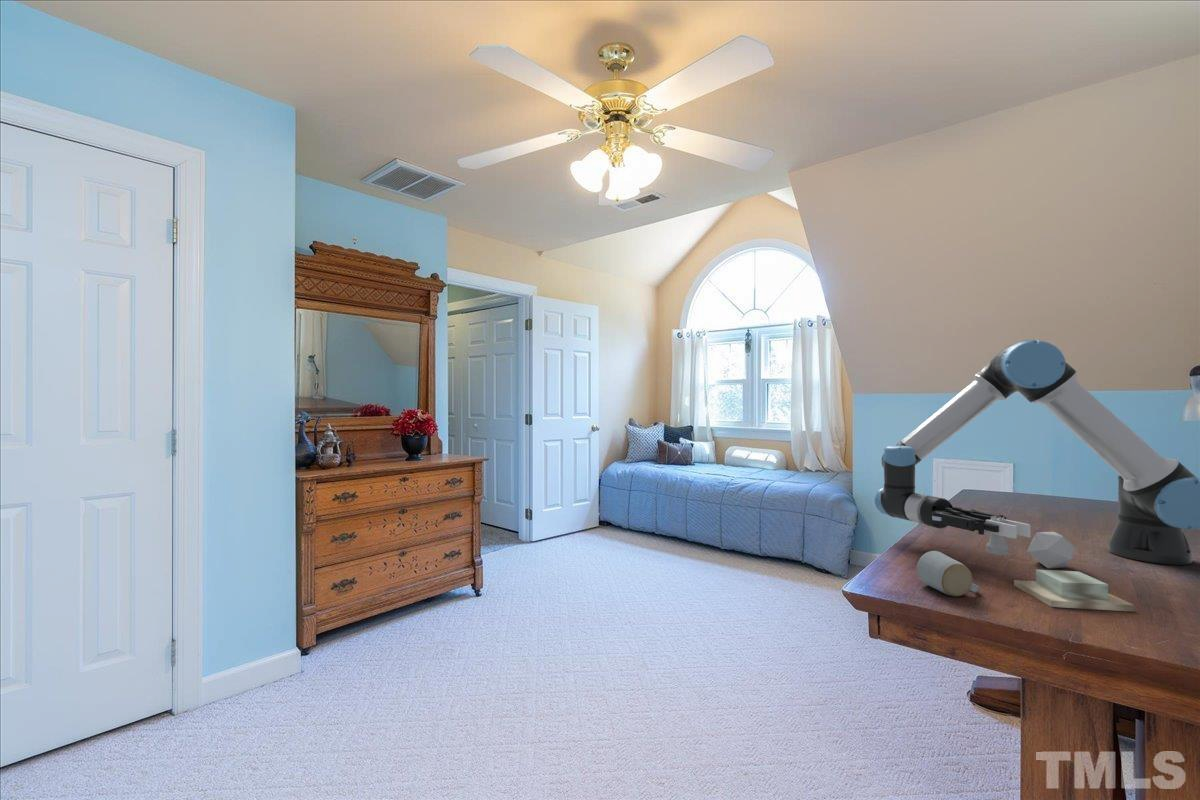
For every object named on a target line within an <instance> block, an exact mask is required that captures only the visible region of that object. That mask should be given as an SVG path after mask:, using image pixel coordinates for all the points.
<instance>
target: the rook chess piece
mask: <svg viewBox="0 0 1200 800" xmlns="http://www.w3.org/2000/svg"><path fill="white" fill-rule="evenodd" d="M1004 517H1005V516H1003V517H1002V519H1001V517H999V518H997V517H996V516H994V518H993V516H992V517H991V519H990V520H992V521H996V522H1001V523H1007V522H1006V521H1005V518H1004ZM985 545H986V548H985V550H986V552H987V553H989V554H991V555H995V556H1009V554H1010V551H1009V550H1010V546H1009V545H1008V542H1007V541H1006V537H1005V536H1001V535H996V534H992V533H990V537H989V539H988V542H987V543H986V544H985Z"/></svg>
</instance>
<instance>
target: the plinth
mask: <svg viewBox="0 0 1200 800" xmlns="http://www.w3.org/2000/svg"><path fill="white" fill-rule="evenodd" d="M1013 586H1014V587H1015V588H1017V589H1019V590H1021V591H1022V592H1024V593H1026V594H1027V595H1029V596H1031V597H1032V598H1035V599H1036V600H1038V601H1040V602H1042V603H1044V604H1045V605H1047V606H1049V607H1050V608H1064V609H1066V608H1067V609H1081V610H1084V609H1085V610H1098V611H1099V610H1103V611H1115V612H1116V611H1119V612H1135V605H1134V604H1133V603H1131V602H1128V601H1126V600H1125V599H1122V598H1120V597H1118V596H1115V595H1113V594H1111V593H1109V584H1108V583H1106V582H1103V581H1101V580H1099V579H1096V578H1094V577H1093V576H1089V575H1088V574H1086V573H1083V572H1081V571H1075V570H1074V571H1072V570H1055V569H1054V570H1053V569H1035V580H1019V579H1013Z"/></svg>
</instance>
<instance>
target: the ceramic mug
mask: <svg viewBox="0 0 1200 800" xmlns="http://www.w3.org/2000/svg"><path fill="white" fill-rule="evenodd" d="M916 573H917V576H918V578H919V580H920V581H921V582H922V583H923V584H925V585H926V586H928V587H931V588H932V589H934V590H937V591H939V592H940V593H943V594H944V595H947V596H949V597H950V596H951V597H961V596H963V595H965V594H966V593H968V591H970V592H972V593H974V594H976V593H978V591H979V589H980V587H979V585H977V584H975V583H973V573H972V572H971V570H970V569H969V568H968V567H967V566H966V565H965V564H963V563H962V562H960V561H958V560H956V559H954V558H952V557H950V556H948V555H946V554H945V553H943V552H941V551H938V550H931V551H930V550H929V551H926V552H925V553H923V554H922V555H921V556H920V558H919V559H918V562H917V565H916Z"/></svg>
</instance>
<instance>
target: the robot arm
mask: <svg viewBox="0 0 1200 800" xmlns="http://www.w3.org/2000/svg"><path fill="white" fill-rule="evenodd" d="M1077 376H1078V371H1077V370H1076V369H1074V368H1073V367H1072V366H1071V365H1070V364H1069V363H1068V362H1067V361H1066V358H1065V356H1064V353H1063V352H1062V351H1061V349H1059V348H1058V347H1057V346H1055V345H1054V344H1053V343H1051V342H1048V341H1045V340H1038V339H1027V340H1023V341H1022V340H1021V341H1019V342H1016V343H1014V344H1011V345H1008V346H1006V347H1004V348H1002V349H1001V350H1000V351H999V352H998V353H997V354H995V356H993V358H991V359H990V361H989V362H988V363H987V364H986V365H985V366H984V367H982V369H980V370H979V371H978V372H977V373H976V374H975V375H974V380H973V381H972V382H971V383H970V384H968V385H967V386H966V387H965V388H963V389H962V390H961V391H960V392H959V393H957V394H956V395H954V397H952V398H951V399H950V400H949V401H947V402H946V403H945V404H944V405H943V406H941V407H940V408H939V409H938V410H936V411H935V412H934V413H933V414H932V415H931V416H930V417H928V418H927V419H926V420H924V421H923V422H922V423H921V424H919V426H917V427H916V428H914V430H913V431H911V432H910V433H908V434H907V435H906V436H905V437H904V438H903V439H901V440H900V441H899V442H897V443H896V444H895V445H887V446H885V447H884V450H883V454H882V456H881V466H882V468H883V482H884V483H883V487H882V488H880V489H878V490H877V491H876V495H875V496H874V505H875V508H876V509H877V511H879V512H880V513H881V514H885V515H887V516H890V517H891V518H897V519H901V520H904V521H905V520H906V521H908V522H913V523H918V526H921V527H922V526H923V525H926V526H929V527H933V528H936V529H944V528H947V527H953V528H956V529H961V530H964V531H965V530H966V531H969V532H975V531H978V535H982V536H983V535H985V533H989V534H991V533H992V534H996V535H1001V536H1005V538H1008V539H1018V536H1020V537H1025V538H1031V524H1029V523H1025V522H1021V521H1016V520H1009V519H1007V517H1006V516H1004V514H1000V515H997V514H993V513H988V512H984V511H979V510H976V509H974V508H973V509H970V510H969V509H963V508H962V507H956V506H953V504H952V502H950V501H949V500H948V499H946V498H942V497H937V496H932V495H928V494H924V493H917V492H916V466H917V465H918V463H920V462H921V461H922V460H923V459H925V458H926V457H927V456H928V455H930V454H931V453H932V452H933V451H935V450H936V449H938V448H939V447H940V446H942V445H943V444H944V443H945V442H946V441H947V440H949V439H950V438H952V437H953V436H954V435H955V434H956V433H958V432H959V431H960V430H962V429H963V428H964V427H965V426H967V425H968V424H969V423H971V422H972V421H973V420H974V419H975V418H977V417H978V416H979V415H981V414H982V413H983V412H984V411H986V410H987V409H988V408H990V407H991V406H992V405H993V404H995V403H996V402H997V401H1005V400H1006V399H1007V398H1009V397H1010V396H1011V395H1013V394H1015V393H1016V392H1019V393H1020V395H1022V396H1023V397H1024V398H1025V399H1026V400H1027V401H1028V402H1030V403H1031V404H1040V405H1043V406H1044V407H1045V408H1046V409H1047V410H1048V411H1049V412H1051V414H1053V416H1055V417H1056V418H1057V419H1058V420H1059V421H1060V422H1061V423H1062V424H1063V425H1064V426H1065V427H1067V428H1068V429H1069V430H1070V431H1071V432H1072V433H1073V434H1074V435H1075V436H1077V438H1079V439H1080V440H1081V441H1082V442H1083V443H1084V444H1085V445H1086V446H1087V447H1088V448H1090V449H1091V450H1092V451H1093V452H1094V454H1096V455H1097V456H1098V457H1099V458H1101V459H1102V461H1104V462H1105V463H1106V464H1107V465H1108V466H1109V467H1110V468H1111V469H1112V470H1113V471H1115V473H1116V474H1118V476H1117V480H1118V488H1117V489H1118V494H1117V495H1118V498H1117V505H1118V506H1117V507H1118V508H1117V509H1118V511H1117V515H1118V516H1117V523H1116V526H1115V528H1114V529H1113V531H1112V534H1111V536H1110V538H1109V541H1108V548H1107V549H1108V550H1107V551H1108V552H1109V553H1110V554H1114V555H1117V556H1120V557H1123V558H1127V559H1131V560H1137V561H1141V562H1148V563H1154V564H1163V565H1174V566H1175V565H1176V566H1177V565H1178V566H1179V565H1181V566H1182V565H1183V566H1184V565H1191V564H1192V563H1193V552H1192V550H1191V548H1190V545H1189V542H1188V540H1187V537H1186V536H1185V532H1184V530H1193V531H1194V530H1200V478H1198V477H1197V476H1196V475H1195V474H1194V473H1192V472H1191V471H1190V470H1189V469H1188V468H1187V467H1186V466H1184V465H1183V463H1181V462H1180V461H1179V460H1178V459H1176V458H1171V457H1170V458H1169V457H1163V456H1161V455H1160V453H1158V451H1155V449H1154V448H1152V447H1151V446H1150V445H1149V444H1148V443H1147V442H1146V441H1144V440H1143V438H1142V437H1140V435H1138V434H1136V432H1134V431H1133V430H1132V429H1131V428H1130V427H1129V426H1128V425H1126V424H1125V422H1123V421H1122V420H1121V419H1120V418H1119V417H1117V416H1116V415H1115V413H1113V412H1112V411H1110V409H1109V408H1107V407H1106V406H1105V405H1104V404H1103V403H1101V401H1100V400H1099V399H1097V398H1096V397H1095V396H1094V395H1092V393H1090V392H1089V391H1088V390H1087V389H1086V388H1085V387H1084V386H1082V385H1081V384H1080V383H1079V382H1078V381H1077ZM992 516H993V518H994V516H996V517H997V518H999V517H1001V519H1002V517H1004V518H1005V521H1006V522H1007V523H1001V522H996V521H992V520H990V519H991V517H992Z"/></svg>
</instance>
